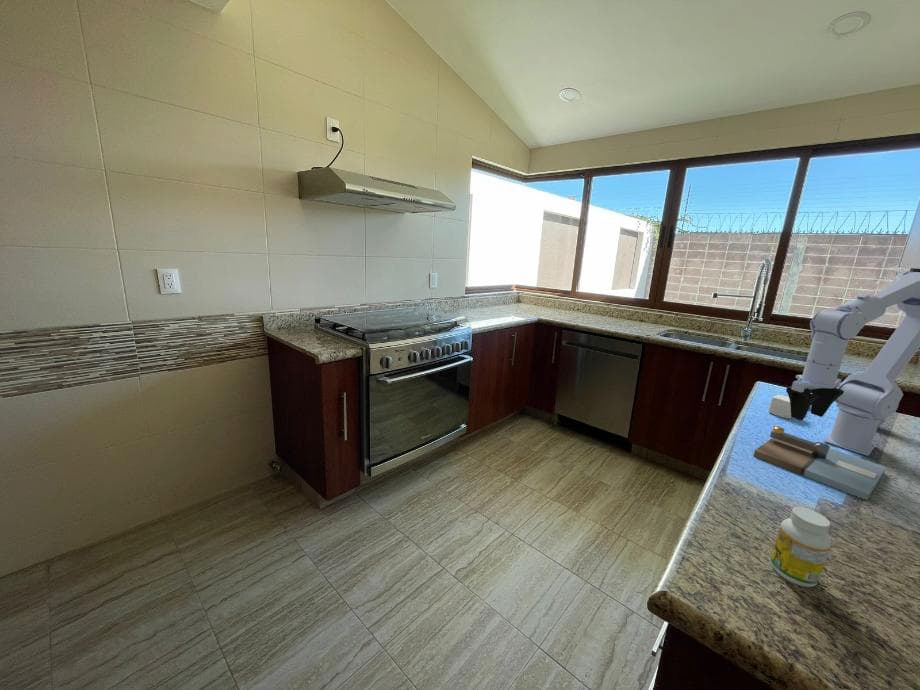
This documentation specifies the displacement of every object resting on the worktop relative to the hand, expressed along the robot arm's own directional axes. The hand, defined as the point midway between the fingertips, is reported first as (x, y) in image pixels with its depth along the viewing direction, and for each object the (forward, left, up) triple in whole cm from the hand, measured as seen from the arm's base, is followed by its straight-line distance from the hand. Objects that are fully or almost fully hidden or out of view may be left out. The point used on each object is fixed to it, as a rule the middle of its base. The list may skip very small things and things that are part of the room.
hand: (806, 416), depth 90 cm
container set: (-30, -9, -9) cm, 33 cm away
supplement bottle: (+49, +12, -9) cm, 51 cm away
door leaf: (+5, +9, -8) cm, 14 cm away
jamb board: (+5, 0, -8) cm, 10 cm away
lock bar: (+4, +1, -7) cm, 8 cm away
